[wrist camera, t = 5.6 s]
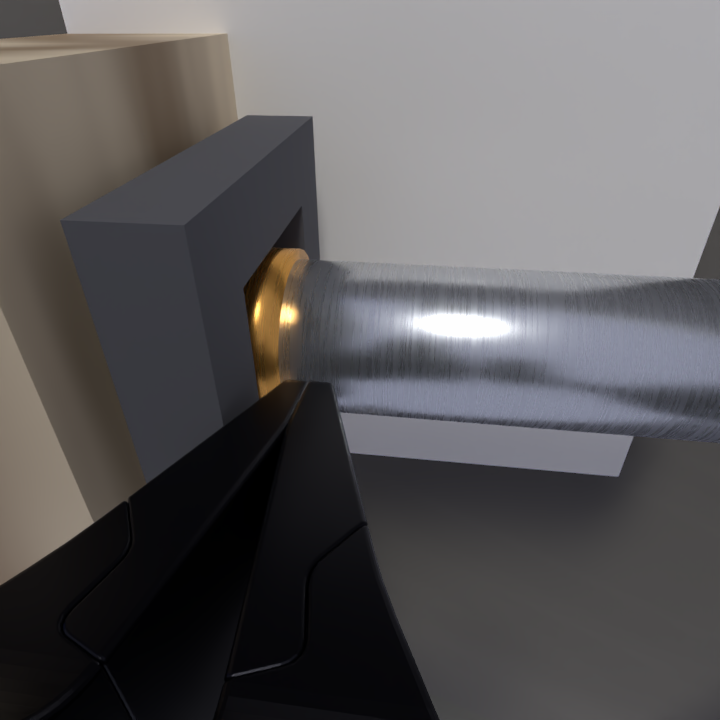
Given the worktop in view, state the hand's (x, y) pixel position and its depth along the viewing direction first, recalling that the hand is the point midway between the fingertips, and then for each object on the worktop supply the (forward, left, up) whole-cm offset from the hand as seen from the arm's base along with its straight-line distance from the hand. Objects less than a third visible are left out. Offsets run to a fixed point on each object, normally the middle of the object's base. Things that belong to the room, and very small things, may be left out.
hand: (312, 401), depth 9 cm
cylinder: (-2, 0, -4) cm, 5 cm away
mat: (-1, 0, -8) cm, 8 cm away
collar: (+2, 0, -6) cm, 6 cm away
